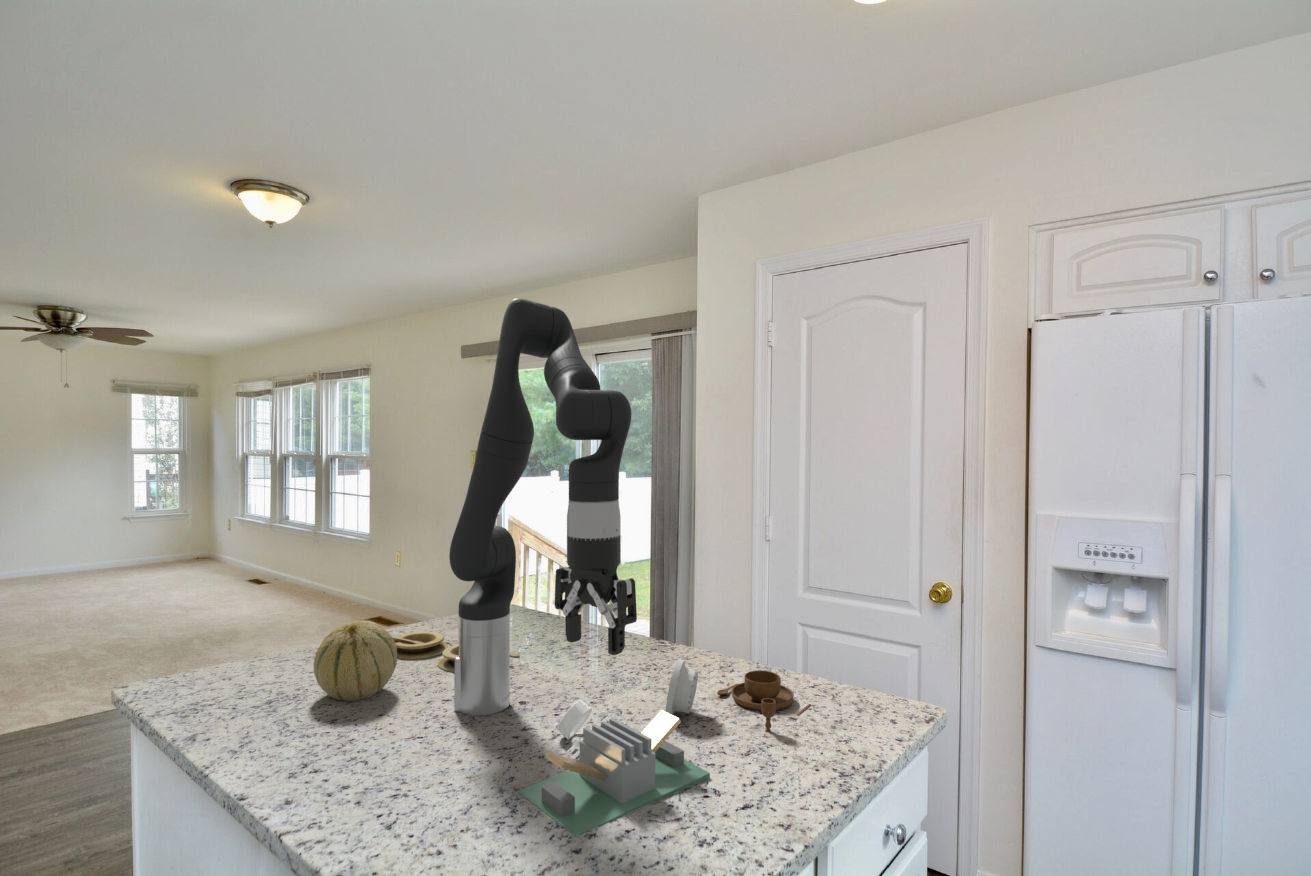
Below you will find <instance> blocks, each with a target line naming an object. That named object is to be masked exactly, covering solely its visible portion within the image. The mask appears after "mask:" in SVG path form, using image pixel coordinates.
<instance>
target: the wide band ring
mask: <svg viewBox="0 0 1311 876" xmlns="http://www.w3.org/2000/svg"><path fill="white" fill-rule="evenodd" d="M591 713H592V707H590V706H589V705H588V704H587V703H586V702H584V700H582V699H578V700H577V701H576V702H574V703H573V704H572V705H571V706H570V707H569V708H568V710H567V711H566V712H565V713H564V715H563V716H562V717H561V719H560V721H559V722H558V721H557V720H556V719H555V718H552V720H550V721H549V722H548V723H547V726H548V727H550V728H554V727H556V730H557V732H559V733H560V734H561V735H562V736H563V737H564V738H566V739H567V740H570V739H572V738H573V737H574V736H575V735H576V734H577V733H578V732H579V731H580V730H581V728H582V727H583V726H584V724H585V723H586V722H587V720H588V719H589V717H590V716H591ZM614 716H615V714H614V713H612V712H610V713H609V714H608V715H607V716H606V717H604V718H603V719H602V720H600V721H599V723H597V725H598V726H600V727H601V722H603V721H605V722H607V723H608V721H609V719H611V718H613V719H614ZM620 722H621V723H623V724H625V725H627V726H628V723H626V722H625V721H624V720H623V721H620ZM582 740H583V736H582V737H581V738H580V739H578V741H577V742H576V743H574V744H573V745H572V746H571V747H569V749H567V750H566V751H565V754H566V755H567V757H569V756H570V755H571V754H572V753H573V752H575V750H576V749H577V748H579V747H580V741H582ZM579 756H580V748H579V749H577V751H576V752H575V753H574V754H572V755H571V756H570V757H569V758H572V759H575V760H577V758H578V757H579Z"/></svg>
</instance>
